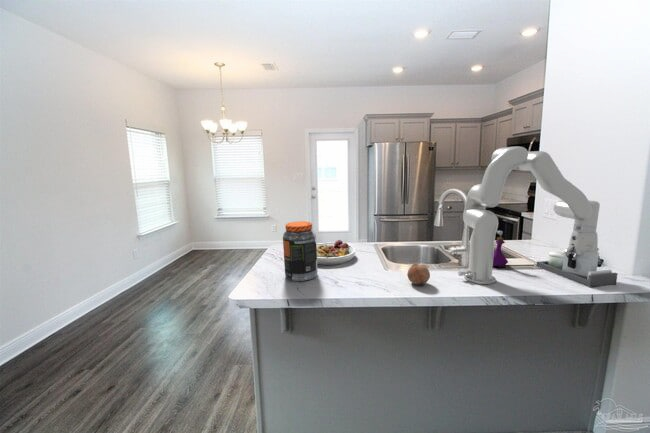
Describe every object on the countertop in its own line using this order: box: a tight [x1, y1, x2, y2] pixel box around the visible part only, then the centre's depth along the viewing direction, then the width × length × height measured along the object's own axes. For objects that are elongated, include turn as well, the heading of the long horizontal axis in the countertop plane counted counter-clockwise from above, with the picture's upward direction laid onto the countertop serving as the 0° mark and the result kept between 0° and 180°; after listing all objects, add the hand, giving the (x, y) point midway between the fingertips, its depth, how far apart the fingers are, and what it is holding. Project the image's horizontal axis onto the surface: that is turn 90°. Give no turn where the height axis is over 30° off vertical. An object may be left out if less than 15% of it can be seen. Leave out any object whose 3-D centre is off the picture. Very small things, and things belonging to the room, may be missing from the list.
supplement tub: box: [282, 220, 318, 282], centre depth 142 cm, size 16×16×26 cm
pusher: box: [587, 269, 613, 280], centre depth 125 cm, size 10×1×5 cm, turn 99°
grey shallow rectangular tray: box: [535, 260, 618, 288], centre depth 136 cm, size 13×26×5 cm, turn 9°
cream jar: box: [547, 250, 564, 270], centre depth 144 cm, size 7×7×7 cm
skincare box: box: [562, 247, 600, 277], centre depth 133 cm, size 10×6×10 cm, turn 29°
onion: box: [406, 263, 431, 287], centre depth 130 cm, size 10×9×10 cm
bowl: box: [316, 239, 356, 266], centre depth 170 cm, size 30×30×8 cm
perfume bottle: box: [493, 230, 509, 268], centre depth 150 cm, size 8×8×18 cm
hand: (579, 266), depth 133 cm, fingers closed on skincare box, 7 cm apart
